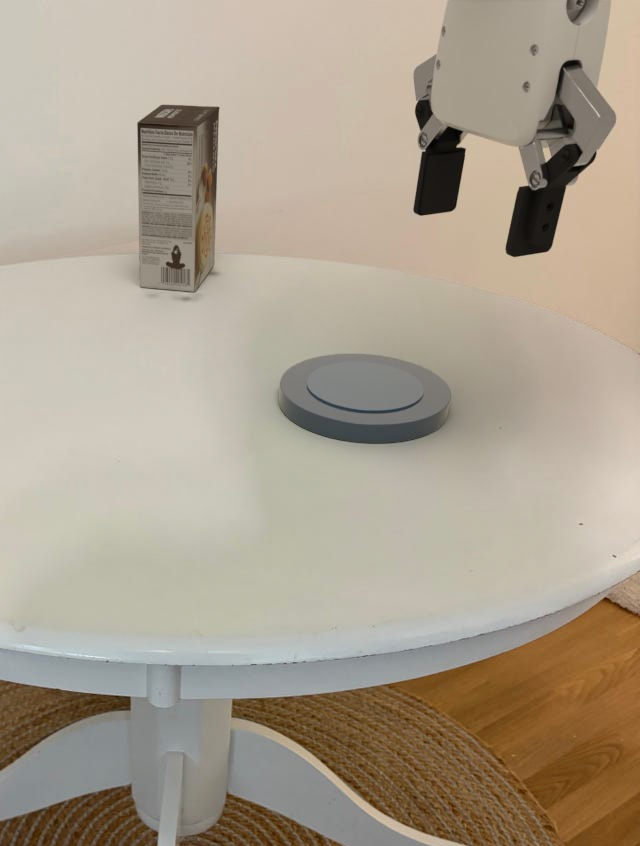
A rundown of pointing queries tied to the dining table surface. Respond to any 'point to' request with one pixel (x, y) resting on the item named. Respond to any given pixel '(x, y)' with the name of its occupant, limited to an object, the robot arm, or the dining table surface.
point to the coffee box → (177, 195)
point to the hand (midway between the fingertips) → (478, 231)
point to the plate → (364, 398)
